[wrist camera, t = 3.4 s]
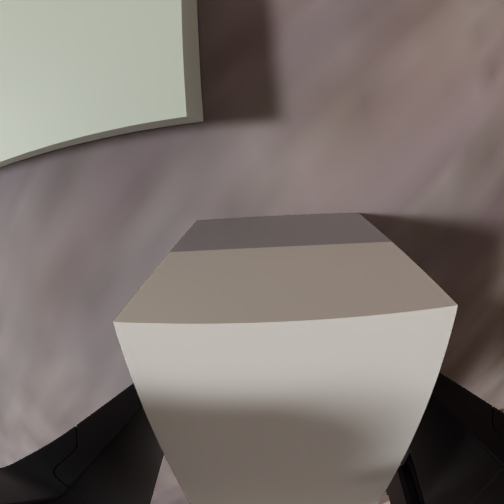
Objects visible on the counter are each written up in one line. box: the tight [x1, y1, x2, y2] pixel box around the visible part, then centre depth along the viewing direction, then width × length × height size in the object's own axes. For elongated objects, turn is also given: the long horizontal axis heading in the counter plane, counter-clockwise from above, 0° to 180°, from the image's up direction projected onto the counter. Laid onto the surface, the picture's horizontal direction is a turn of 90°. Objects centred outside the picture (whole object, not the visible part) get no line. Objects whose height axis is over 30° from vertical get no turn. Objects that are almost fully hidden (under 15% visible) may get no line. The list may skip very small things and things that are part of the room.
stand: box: [0, 0, 204, 167], centre depth 6 cm, size 12×12×2 cm
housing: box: [113, 213, 458, 504], centre depth 8 cm, size 5×8×6 cm, turn 4°
